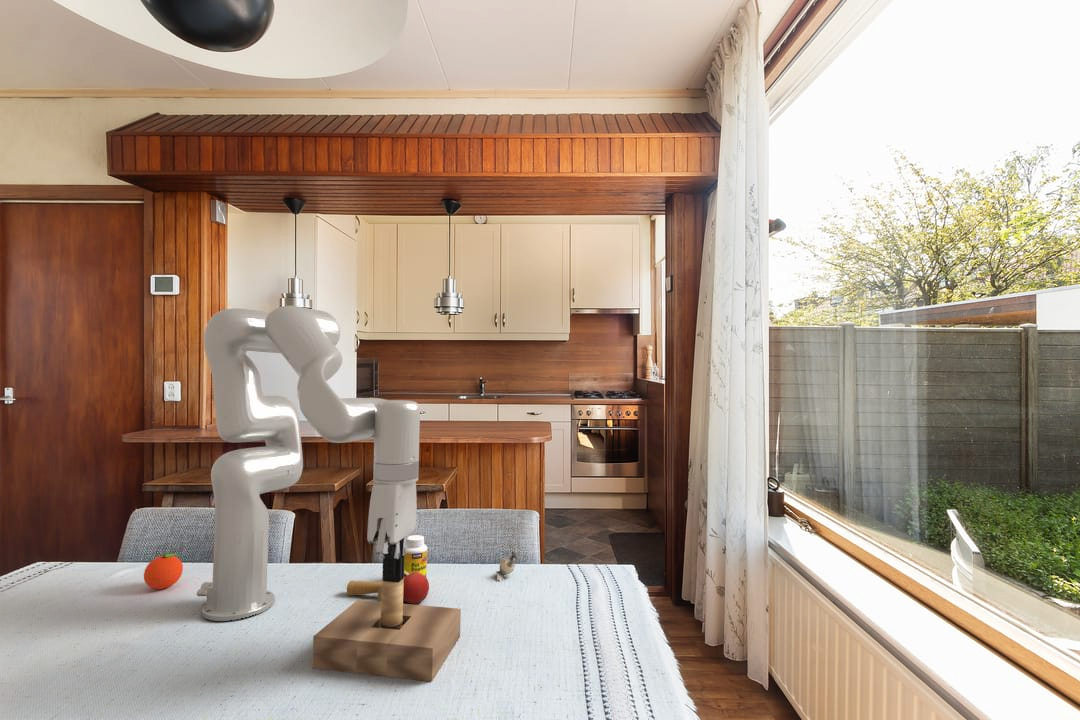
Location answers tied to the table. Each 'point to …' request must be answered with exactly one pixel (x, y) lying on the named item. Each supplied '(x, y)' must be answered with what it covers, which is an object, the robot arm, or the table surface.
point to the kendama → (412, 589)
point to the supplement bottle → (415, 555)
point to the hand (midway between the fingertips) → (393, 579)
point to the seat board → (388, 641)
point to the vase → (507, 566)
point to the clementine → (163, 571)
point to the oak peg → (392, 605)
